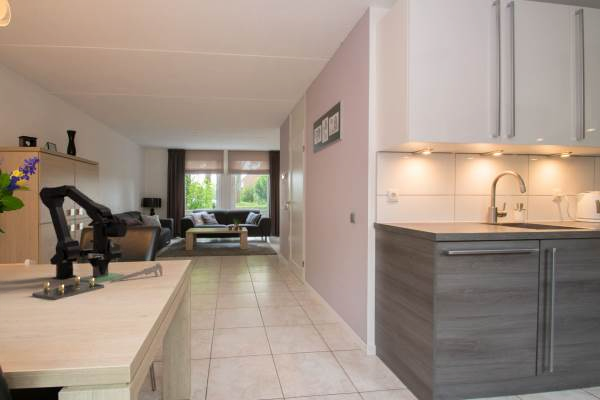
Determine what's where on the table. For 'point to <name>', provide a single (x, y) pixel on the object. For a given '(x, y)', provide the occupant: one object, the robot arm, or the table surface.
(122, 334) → the table surface
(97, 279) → the board
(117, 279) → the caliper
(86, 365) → the table surface
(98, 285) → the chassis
